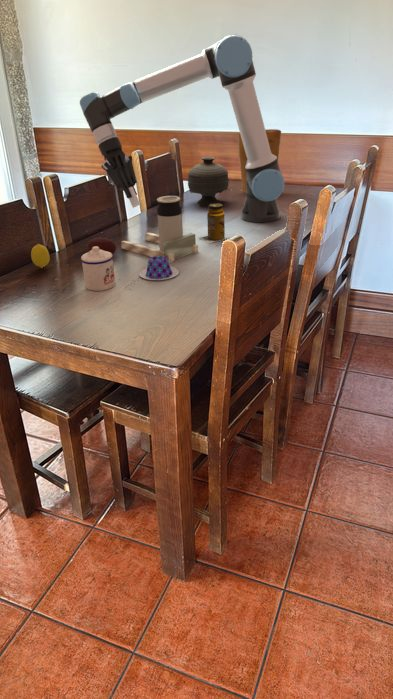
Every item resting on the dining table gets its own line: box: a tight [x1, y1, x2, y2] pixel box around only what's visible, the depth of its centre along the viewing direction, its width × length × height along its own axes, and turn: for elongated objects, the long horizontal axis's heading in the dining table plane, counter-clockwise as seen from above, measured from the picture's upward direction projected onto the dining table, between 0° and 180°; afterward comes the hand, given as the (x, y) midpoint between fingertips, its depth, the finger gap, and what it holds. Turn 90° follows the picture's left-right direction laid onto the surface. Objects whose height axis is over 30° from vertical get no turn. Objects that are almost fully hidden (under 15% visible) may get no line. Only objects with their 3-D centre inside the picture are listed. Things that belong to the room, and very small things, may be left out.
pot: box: [187, 156, 229, 207], centre depth 231 cm, size 18×18×20 cm
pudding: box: [139, 256, 180, 281], centre depth 160 cm, size 12×12×5 cm
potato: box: [87, 236, 117, 255], centre depth 177 cm, size 7×10×6 cm
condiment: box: [199, 203, 230, 244], centre depth 187 cm, size 7×8×12 cm
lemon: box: [30, 243, 50, 269], centre depth 168 cm, size 6×6×8 cm
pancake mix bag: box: [237, 128, 282, 194], centre depth 242 cm, size 7×19×28 cm, turn 74°
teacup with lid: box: [80, 246, 116, 292], centre depth 153 cm, size 12×9×12 cm
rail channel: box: [120, 231, 199, 264], centre depth 180 cm, size 24×13×6 cm, turn 48°
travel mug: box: [156, 195, 184, 251], centre depth 174 cm, size 8×8×18 cm
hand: (136, 205), depth 187 cm, fingers closed
